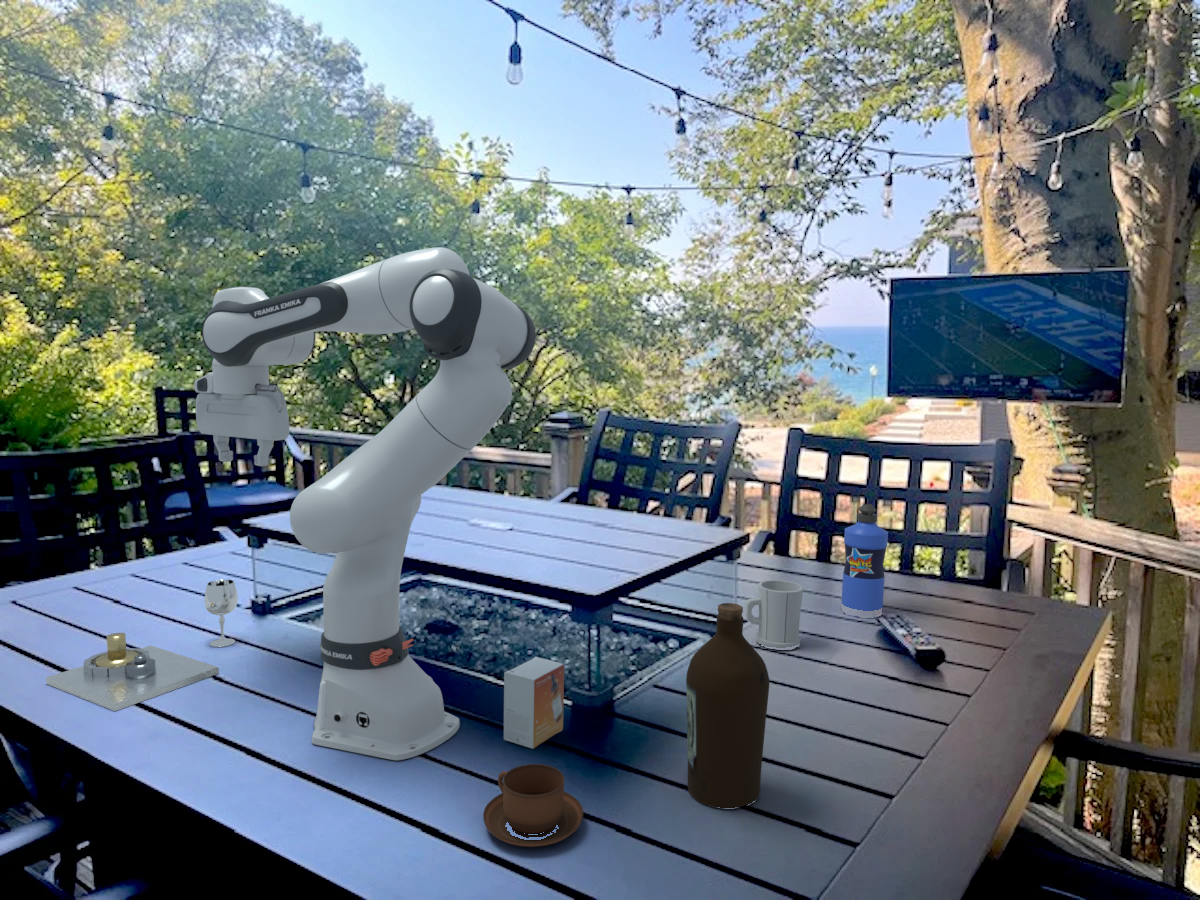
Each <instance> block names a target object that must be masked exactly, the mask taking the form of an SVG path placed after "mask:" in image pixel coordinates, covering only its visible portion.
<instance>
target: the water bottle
mask: <svg viewBox="0 0 1200 900" xmlns="http://www.w3.org/2000/svg"><path fill="white" fill-rule="evenodd" d="M858 511H859V512H858V513H857V515H856V521H857V522H856V523H855V524H853V525H850V526H848V527H845V528H844V535H843V536H844V537H843V538H844V539H843V543H844V551H845V552H844V553H845V563H844V568H843V572H842V587H841V603H842V604H843V605H844V606H846V607H849V608H852V609H857V610H863V611H874V610H879V609H881V608H884V595H885V594H884V593H885V570H884V569H885V568H884V562H885V557H886V552H887V548H888V538H889V532H888V531H887V530H886V529H884V528H883V527H880V526H878V524H877V522H878V520H877V519H878V514H876V512H877V508H875V506H873V504H871V503H864V504H862V505H861V506H860V507H858ZM841 603H840V604H841Z"/></svg>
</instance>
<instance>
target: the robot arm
mask: <svg viewBox="0 0 1200 900" xmlns="http://www.w3.org/2000/svg"><path fill="white" fill-rule="evenodd" d="M412 329H413V330H414V329H415V331H416V333H417V334H418V336H419V337H420V339H421V341H422V344H423V348H424V350H425V352H426V354H427V356H429V358H432V359H434V360H438V361H440V364H439V369H438V370H437V373H436V374H435V376H434V377H433V378H432V379H431V381H429V382H428V383H427V384H426V385H425V386H424V387H423V388H422V389H421V390H420V391H419V392H418V393H417V394H416V395H415V396H414V397H413V398H412V399H411V400H410V401H409V402H408V403H407V404H406V405H405V406H404V408H403V409H402V410H400V412H398V413H397V415H396V416H395V417H394V418H393V419H392V420H391V421H390V422H388V424H387V425H386V426H385V427H383V429H382V430H380V431H379V432H378V433H377V434H376V435H374V436H373V437H372V438H370V439H369V440H368V441H366V442H365V443H364V444H362V445H361V446H360V447H358V448H357V449H356V450H354V451H353V452H352V453H350V454H349V455H347V457H345V458H344V459H343V460H342V461H341V462H339V463H338V464H337V465H335V466H334V467H333V468H332V469H330V470H329V471H328V472H327V473H326V474H324V475H323V476H322V477H321V478H320V479H318V480H316V481H315V482H314V483H312V484H310V485H309V486H307V487H306V488H304V489H303V490H301V491H300V492H299V493H298V494H297V495H296V496H295V498H294V500H293V501H292V504H291V507H290V510H289V522H290V527H291V531H292V532H293V533H292V534H294V537H295V538H296V540H297V541H298V542H299V543H300V545H302V546H303V547H304V548H305V549H307V550H309V551H310V552H313V553H317V554H336V556H335V559H334V561H333V564H332V566H331V568H330V570H329V572H328V573H327V575H326V577H325V580H324V583H323V588H322V592H323V593H322V597H323V599H322V600H323V602H322V603H323V605H322V607H323V632H322V633H321V636H320V645H319V648H320V658H321V660H322V661H323V667H322V674H321V677H320V684H319V690H318V701H317V712H316V716H315V718H314V719H315V720H314V722H313V728H314V731H313V732H312V734H311V735H312V736H311V743H312V745H313V744H314V745H316V746H321V747H326V748H331V749H335V750H339V751H340V750H341V751H346V752H351V753H356V754H360V755H366V756H371V757H375V758H382V759H387V760H391V761H403V760H406V759H410V758H415V757H417V756H419V755H422V754H424V753H426V752H430V750H433V749H435V748H436V747H438V746H440V745H441V744H443V743H446V741H447V740H449V739H450V738H451V737H453V736H454V735H455V734H456V733H457V732H458V730H459V729H460V725H461V722H460V718H459V717H457V716H455V715H453V714H451V713H449V712H447V711H445V708H444V699H443V693H442V691H441V688H440V687H439V686H438V684H436V683H435V681H434V680H433V678H432V677H431V676H430V675H428V674H427V673H426V672H425V671H424V670H423V669H422V668H421V667H420V666H419V664H417V663H416V662H415V660H414V659H413V658H412V657H411V656H410V655H409V653H410V651H409V648H410V647H413V646H414V644H413V643H412V642H413V641H414V638H410V639H408V640H406V638H405V635H404V633H403V632H404V631H403V630H402V627H401V626H400V583H401V582H400V581H401V574H402V568H403V567H402V566H403V562H404V557H405V553H406V548H407V544H408V539H409V534H410V531H411V526H412V524H413V521H414V519H415V517H416V515H417V513H418V511H419V510H420V507H421V503H422V495H423V494H424V493H425V492H427V491H428V490H430V489H431V488H433V487H434V486H435V485H437V484H438V483H439V482H440V481H441V480H442V479H443V478H445V476H446V475H447V474H448V473H449V472H450V471H451V470H453V469H454V468H455V466H457V465H458V464H459V462H461V461H462V460H463V459H464V458H465V457H466V456H467V455H468V454H469V453H470V451H472V450H473V449H474V448H475V447H476V446H477V445H478V444H479V443H480V442H481V440H483V439H484V438H485V436H486V435H487V434H488V433H489V432H490V431H491V429H492V428H493V427H494V426H495V424H496V423H497V421H498V420H499V419H500V417H501V416H502V415H503V413H504V412H505V411H506V409H507V407H508V406H509V404H510V402H511V400H512V397H513V395H512V394H513V389H512V384H511V381H510V379H509V377H508V375H507V374H506V372H505V371H504V370H510V369H514V368H516V367H518V366H520V365H522V364H523V363H524V362H525V361H527V359H528V358H529V357H530V355H531V353H532V352H533V350H534V347H535V344H536V341H537V340H536V339H537V338H536V337H537V334H536V333H537V332H536V327H535V323H534V322H533V319H532V317H530V315H529V313H527V312H526V310H525V309H524V308H523V307H522V306H520V305H519V304H518V303H516V302H514V301H512V300H511V299H510V298H508V297H506V296H505V295H503V294H502V293H501V291H499V290H498V289H497V288H495V287H493V286H491V285H490V284H488V283H486V282H484V281H481V280H479V279H477V278H474V277H472V276H471V275H470V270H469V268H468V266H467V264H466V263H465V261H464V260H463V258H462V257H461V256H460V255H459V254H458V253H457V252H455V251H454V250H452V249H449V248H448V247H440V246H439V247H437V246H436V247H431V248H430V247H429V248H422V249H417V250H412V251H407V252H404V253H400V254H397V255H393V256H391V257H388V258H385V259H383V260H380V261H377V262H375V263H372V264H370V265H367V266H365V267H362V268H360V269H357V270H354V271H352V272H348V273H347V274H343V275H341V276H339V277H338V276H337V277H334V278H332V279H329V280H327V281H323V282H321V283H318V284H314V285H312V286H307V287H304V288H300V289H296V290H292V291H289V292H287V293H283V294H279V295H277V296H273V297H268V296H267V294H266V293H265V292H264V290H262V289H261V288H258V287H256V286H249V285H248V286H247V285H240V286H230V287H229V286H228V287H225V288H222V289H220V290H219V291H216V293H215V294H214V297H213V301H212V307H211V309H210V310H209V311H208V312H207V314H206V315H205V317H204V320H203V322H202V325H201V337H202V342H203V345H204V347H205V349H206V350H207V352H208V353H209V354H210V356H212V358H213V359H212V363H211V365H212V367H211V368H212V372H209V373H207V374H205V375H203V376H202V377H199V378H198V379H196V380H195V381H194V382H193V385H194V391H195V393H198V394H197V396H196V399H195V417H196V418H195V419H196V427H197V429H198V431H199V433H200V434H201V435H211V436H212V437H213V439H212V440H213V443H214V445H215V448H216V450H217V452H218V461H220V462H232V461H233V460H234V452H233V450H230V446H229V443H228V441H230V437H231V438H232V437H233V438H241V439H248V440H249V439H250V440H256V443H257V444H256V445H257V446H258V447H259V448H258V451H257V454H255V455H253V460H254V461H253V464H254V465H255V466H258V467H266V466H269V460H270V459H269V457H270V454H271V451H272V449H273V447H274V441H275V442H276V441H283V440H287V439H288V438H289V435H290V419H289V414H288V412H289V411H288V406H287V403H286V399H285V396H284V393H283V391H282V389H280V388H279V387H278V385H275V384H270V374H269V373H270V371H269V368H270V367H269V366H281V365H282V366H287V365H288V366H289V365H291V366H292V365H296V364H301V363H303V362H305V361H306V360H308V358H309V357H310V356H311V354H312V353H313V351H314V348H315V344H316V333H315V332H337V333H339V332H340V333H351V334H363V335H364V334H366V335H387V334H396V333H402V332H406V331H409V330H412ZM411 643H412V644H411Z"/></svg>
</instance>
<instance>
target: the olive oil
mask: <svg viewBox="0 0 1200 900" xmlns="http://www.w3.org/2000/svg"><path fill="white" fill-rule="evenodd" d="M743 608H744V607H743V606H742V605H740V604H738V603H732V602H722V603H720V604H718V605H717V611H718V612H717V613H718V614H717V615H716V632H715V634H714V635H713V636H712V637H711V638H709V640H708V641H706V642H705V643H704V644H703V645H702V646H701V647H700V648H699V649H698V650H697V651H695V653H694V654H693V655H692V657H691V659H690V662H689V664H688V667H687V671H686V679H685V685H686V686H685V688H686V692H685V693H686V728H687V729H686V731H687V732H686V734H687V735H686V738H687V740H686V741H687V742H686V743H687V744H686V745H687V790H688V793H689V794H690V796H691V797H692V798H694V800H696V801H697V800H698V802H700V804H703V805H705V804H706V805H705V806H707V805H708V807H710V806H713V807H712V808H714V807H720V808H735V807H741V806H744V805H748V804H750V803H752V802H753V801H755V800H756V799H757V798H758V799H759V797H760V794H759V793H761V779H762V766H763V754H764V741H765V731H766V722H767V711H768V703H769V701H768V700H769V693H770V692H769V691H770V677H769V672H768V669H767V665H766V662H765V661H764V659H763V658H762V656H761V655H760V654H759V653H758V652H757V650H756V649H755V648H754V647H753V646H752V645H751V643H750V642H749V641H748V640H747V639H746V638H745V637H744V635H743V629H744V616H743V612H744V611H743V610H744V609H743ZM758 796H759V797H758ZM758 799H757V800H758ZM709 805H710V806H709Z"/></svg>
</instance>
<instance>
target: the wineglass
mask: <svg viewBox="0 0 1200 900" xmlns="http://www.w3.org/2000/svg"><path fill="white" fill-rule="evenodd" d="M205 588H206V589H205V595H204V607H205V609H206V611H207V612H208V613H209V614H211V615H215V616H219V619H218V622H219V626H220V638H218V639H216V640H215V639H214V640H212V641H211V642H210V643H209V646H211V647H214V648H223V647H228V646H232V645H234V644H235V643H236V640H235V639H233V638H226V637H225V635H224V634H225V633H224V625H225V619H226V618H225V617H224V616H226V615H229V614H230V613H231V612H232V613H233V611H234V610H235V609H236V607H237V605H238V600H239V599H238V592H237V587H236V584H235V581H234V580H232V579H216V580H213V581H208V582H207V584H206V587H205Z"/></svg>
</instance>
